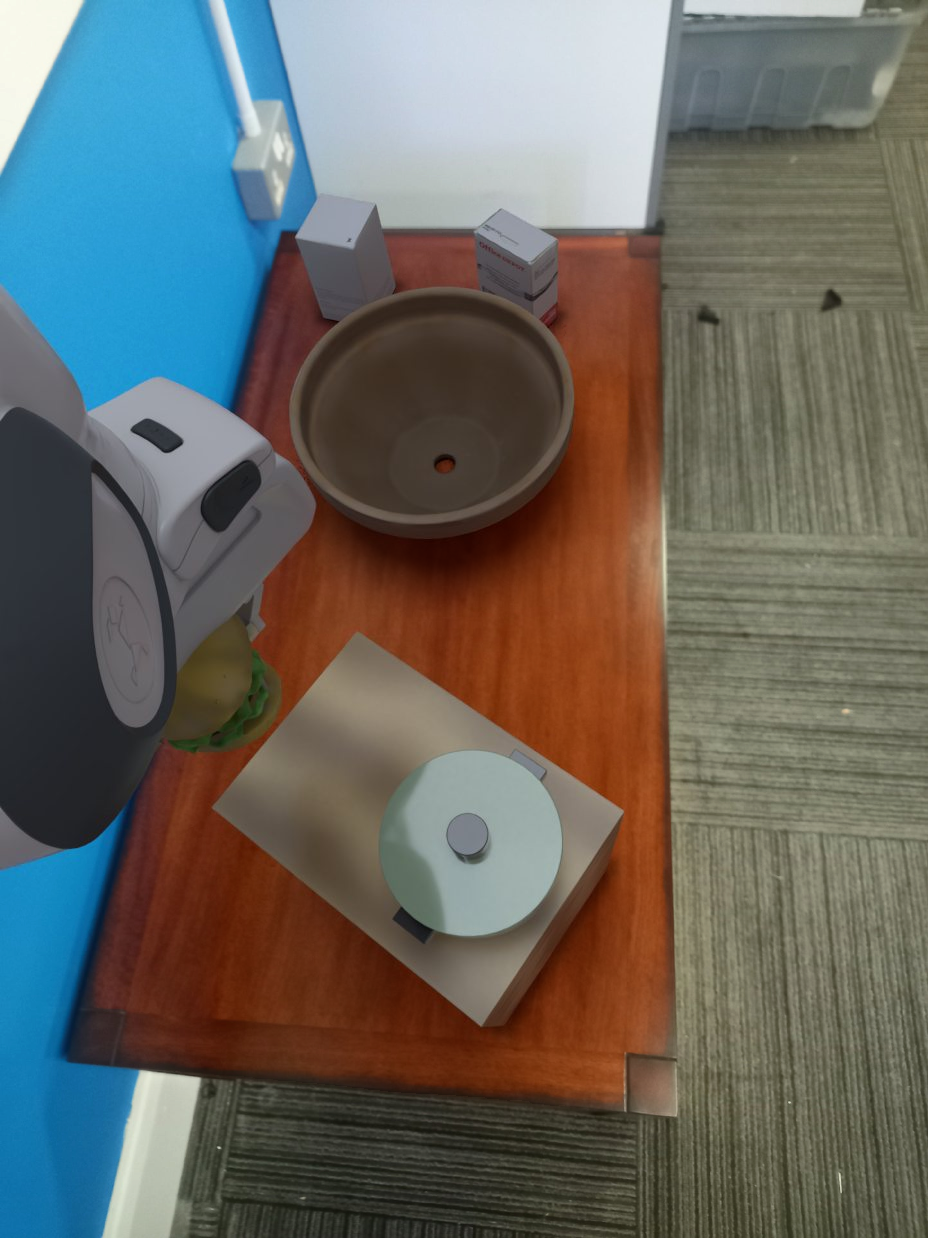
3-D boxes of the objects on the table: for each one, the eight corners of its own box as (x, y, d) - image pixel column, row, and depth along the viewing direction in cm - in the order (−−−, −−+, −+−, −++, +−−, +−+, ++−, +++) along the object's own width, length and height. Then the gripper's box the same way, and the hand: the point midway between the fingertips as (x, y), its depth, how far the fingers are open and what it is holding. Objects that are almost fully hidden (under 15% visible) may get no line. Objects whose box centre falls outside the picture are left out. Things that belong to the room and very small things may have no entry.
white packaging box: (397, 286, 111) (379, 201, 100) (374, 331, 109) (352, 249, 97) (344, 274, 113) (320, 190, 101) (320, 318, 110) (292, 236, 99)
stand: (503, 1026, 75) (481, 1027, 54) (302, 864, 83) (210, 807, 61) (607, 868, 80) (624, 811, 58) (407, 728, 87) (357, 630, 65)
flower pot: (531, 612, 91) (526, 550, 79) (280, 548, 97) (241, 482, 85) (602, 394, 101) (607, 311, 89) (372, 349, 107) (348, 265, 96)
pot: (490, 995, 54) (479, 990, 47) (356, 888, 58) (326, 868, 50) (602, 828, 58) (608, 799, 50) (468, 736, 61) (456, 697, 54)
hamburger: (318, 678, 51) (253, 582, 40) (262, 796, 48) (176, 727, 37) (202, 638, 53) (110, 536, 42) (142, 749, 50) (27, 671, 39)
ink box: (559, 316, 107) (560, 237, 96) (533, 342, 106) (530, 265, 95) (506, 284, 110) (500, 203, 99) (479, 308, 108) (470, 230, 98)
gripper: (-97, 833, 30) (97, 891, 42) (296, 413, 36) (364, 573, 48) (-202, 730, 32) (12, 814, 44) (185, 348, 38) (279, 518, 50)
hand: (198, 686), depth 46 cm, fingers closed on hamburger, 6 cm apart
